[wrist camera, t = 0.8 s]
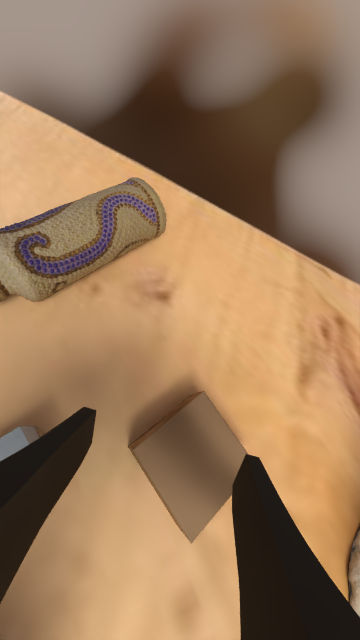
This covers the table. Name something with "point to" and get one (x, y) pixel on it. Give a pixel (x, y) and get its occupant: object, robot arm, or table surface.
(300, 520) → the table surface
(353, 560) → the santa figurine
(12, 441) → the slate cube
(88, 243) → the decorative bottle
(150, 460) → the walnut block
